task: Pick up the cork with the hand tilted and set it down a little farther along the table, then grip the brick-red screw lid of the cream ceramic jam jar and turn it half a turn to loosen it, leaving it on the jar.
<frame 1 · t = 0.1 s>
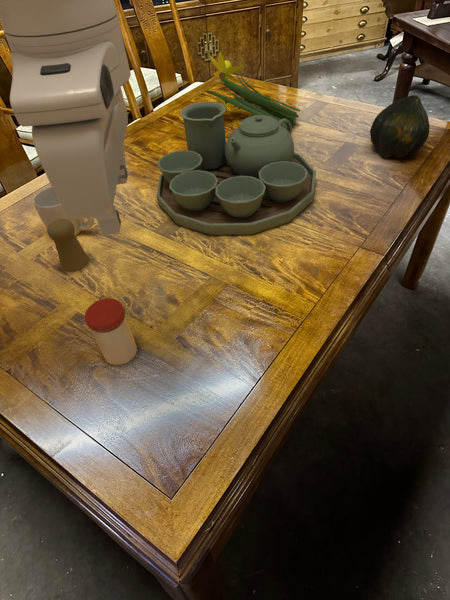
hand: (117, 203, 45), 33 cm above the table, tool pointing down, fingers open, 8 cm apart
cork: (76, 265, 91), on the table
squash: (394, 151, 115), on the table
daffodil flowers: (253, 120, 137), on the table
mug: (75, 233, 100), on the table
jam jar lid: (104, 313, 66), point 10 cm above the table, screwed on, not yet turned
tea set: (237, 191, 107), on the table
jam jar: (121, 352, 73), on the table
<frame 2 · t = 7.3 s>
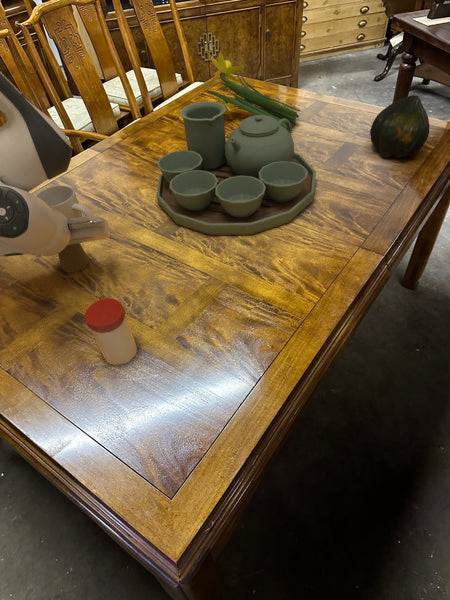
hand: (66, 241, 87), 6 cm above the table, tool tilted 45°, fingers closed on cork, 4 cm apart
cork: (76, 265, 91), on the table, touching gripper
everything else where it was.
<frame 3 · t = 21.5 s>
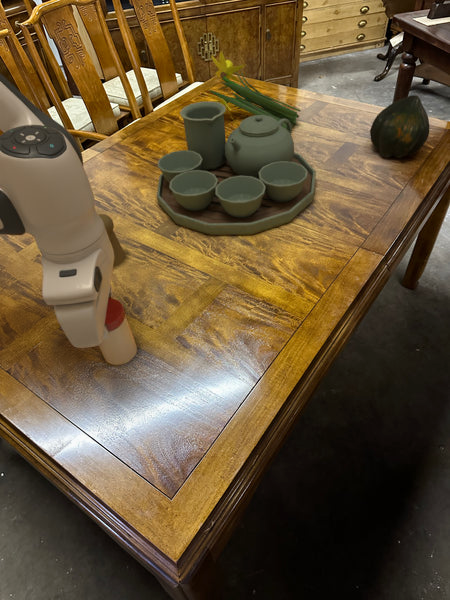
hand: (106, 318, 67), 9 cm above the table, tool pointing down, fingers closed on jam jar lid, 6 cm apart
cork: (113, 261, 91), on the table
jam jar lid: (104, 313, 66), point 10 cm above the table, screwed on, not yet turned, touching gripper
everything else where it was.
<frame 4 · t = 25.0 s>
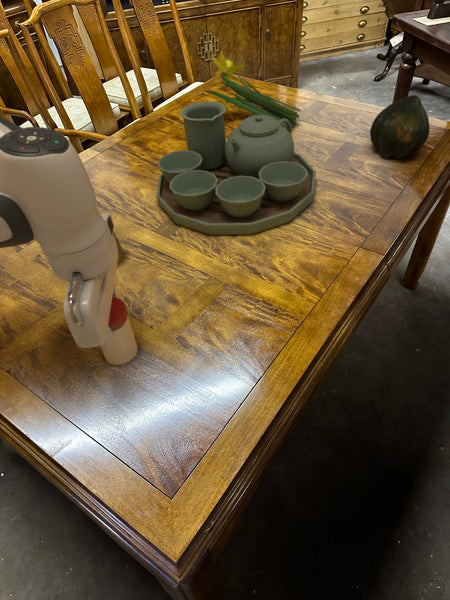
hand: (110, 318, 67), 9 cm above the table, tool pointing down, fingers closed on jam jar lid, 6 cm apart
jam jar lid: (107, 312, 65), point 11 cm above the table, turned 178° so far, risen 0.2 cm, still on its thread, touching gripper
jam jar: (121, 352, 73), on the table, touching gripper
everything else where it was.
when the fingers open (7 cm above the table, at t = 26.5 s): jam jar lid stays where it is, point 11 cm above the table.
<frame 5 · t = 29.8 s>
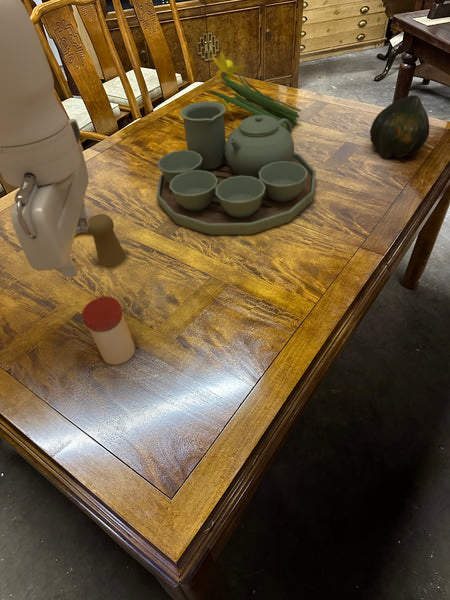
hand: (78, 250, 57), 23 cm above the table, tool pointing down, fingers open, 8 cm apart
jam jar lid: (101, 312, 66), point 11 cm above the table, turned 180° so far, risen 0.2 cm, still on its thread
jam jar: (119, 352, 73), on the table
everything else where it was.
at the end: jam jar lid turned 0.50 turns (still on its thread); jam jar lid is still on its thread (0.50 turns); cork inside the target area (0.0 cm from its centre), on the table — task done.
